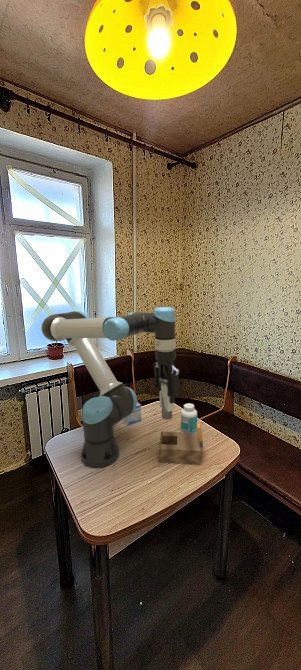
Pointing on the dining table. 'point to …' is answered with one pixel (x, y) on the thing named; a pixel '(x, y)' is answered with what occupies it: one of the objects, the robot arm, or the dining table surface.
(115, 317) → the robot arm
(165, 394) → the steel pin
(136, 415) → the medicine box
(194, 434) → the block
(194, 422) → the pill bottle
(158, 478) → the dining table surface
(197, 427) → the plate
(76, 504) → the dining table surface
